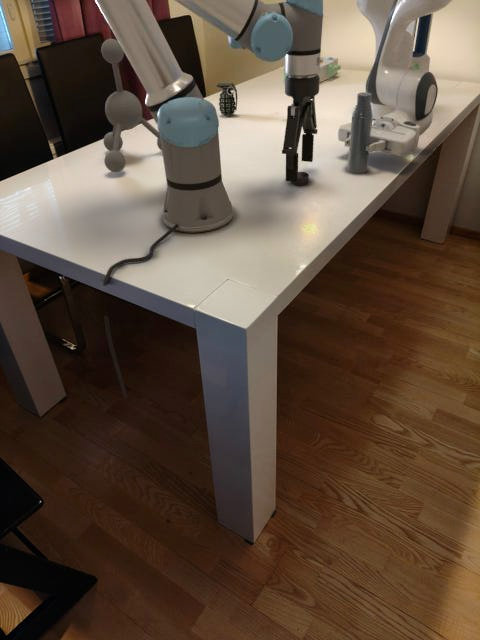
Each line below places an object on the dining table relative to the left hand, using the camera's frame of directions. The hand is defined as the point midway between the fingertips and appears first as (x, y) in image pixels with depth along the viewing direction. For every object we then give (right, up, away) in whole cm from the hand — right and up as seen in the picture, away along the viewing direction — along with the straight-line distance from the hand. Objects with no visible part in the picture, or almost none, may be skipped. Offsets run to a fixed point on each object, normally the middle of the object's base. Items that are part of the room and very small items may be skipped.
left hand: (299, 170), depth 119 cm
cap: (0, -1, +1) cm, 1 cm away
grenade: (-19, +35, +51) cm, 64 cm away
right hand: (+15, +7, +2) cm, 16 cm away
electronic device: (+48, +49, +64) cm, 94 cm away
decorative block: (+16, +67, +89) cm, 113 cm away
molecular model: (-43, +10, +21) cm, 49 cm away
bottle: (+15, +2, +6) cm, 17 cm away
